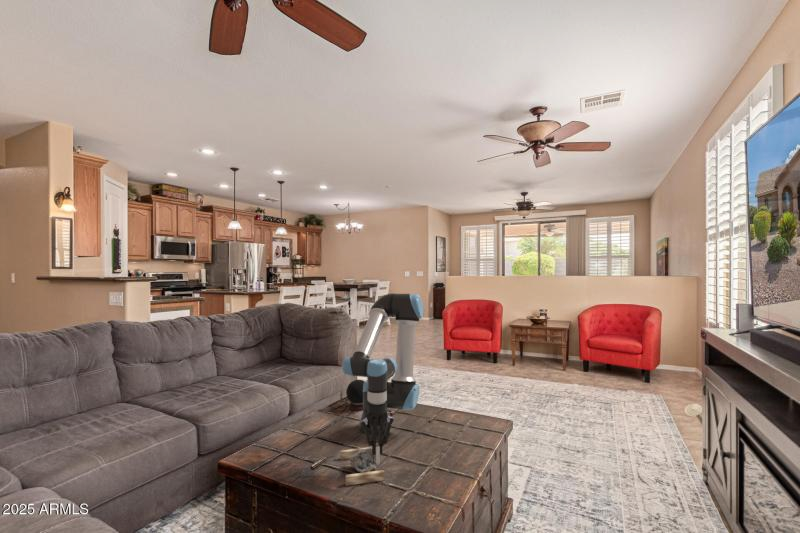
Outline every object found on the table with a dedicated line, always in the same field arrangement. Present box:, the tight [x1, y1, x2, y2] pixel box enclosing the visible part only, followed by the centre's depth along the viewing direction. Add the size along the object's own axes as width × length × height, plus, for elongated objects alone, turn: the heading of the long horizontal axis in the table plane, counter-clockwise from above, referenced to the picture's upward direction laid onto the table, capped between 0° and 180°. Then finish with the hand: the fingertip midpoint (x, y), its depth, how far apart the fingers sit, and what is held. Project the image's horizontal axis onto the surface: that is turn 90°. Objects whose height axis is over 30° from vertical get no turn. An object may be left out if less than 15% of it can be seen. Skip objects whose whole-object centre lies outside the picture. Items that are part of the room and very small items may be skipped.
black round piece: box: [345, 379, 366, 412], centre depth 209 cm, size 13×13×15 cm
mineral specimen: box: [348, 446, 378, 473], centre depth 146 cm, size 10×8×10 cm
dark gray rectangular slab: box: [300, 469, 315, 479], centre depth 142 cm, size 5×4×1 cm
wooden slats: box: [339, 446, 386, 487], centre depth 146 cm, size 14×20×3 cm
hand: (377, 462), depth 148 cm, fingers closed
